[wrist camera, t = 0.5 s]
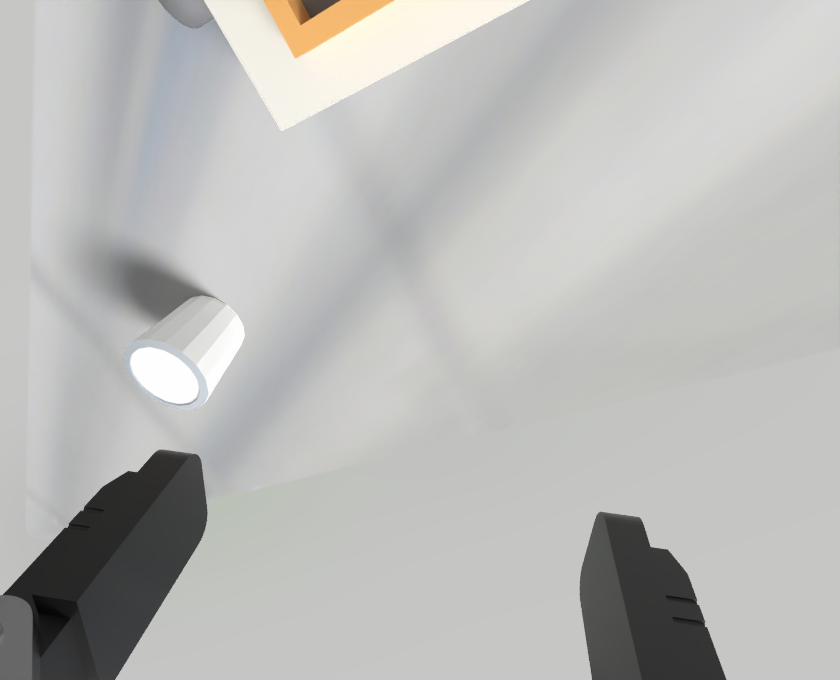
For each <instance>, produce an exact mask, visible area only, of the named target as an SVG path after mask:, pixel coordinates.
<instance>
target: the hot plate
mask: <svg viewBox="0 0 840 680" xmlns="http://www.w3.org/2000/svg"><path fill="white" fill-rule="evenodd" d="M527 1H529V0H159V2H160V3H161V4H162V6H163V7H164V8H165V9H166V10H167V11H168V12H169V14H170V15H172V16H173V17H174V18H175V19H176V20H177V21H179V22H180V23H182V24H183V25H185V26H187V27H190V28H199V27H201V26H203V25H204V24H205V23H207V22H208V21H210V20H211V19H213V18H215V20H216V22H217V23H218V25H219V27H220V28H221V30H222V32H223V34H224V35H225V37H226V39H227V40H228V42H229V44H230V45H231V47H232V49H233V50H234V52H235V54H236V55H237V57H238V59H239V61H240V62H241V64H242V66H243V67H244V69H245V71H246V72H247V74H248V76H249V77H250V79H251V81H252V83H253V84H254V86H255V88H256V89H257V91H258V93H259V94H260V96H261V98H262V99H263V101H264V103H265V104H266V106H267V108H268V110H269V111H270V113H271V115H272V116H273V118H274V120H275V121H276V123H277V125H278V126H279V128H280V130H281V132H282V131H284V130H285V129H287V128H289V127H291V126H293V125H295V124H297V123H299V122H301V121H302V120H304V119H306V118H308V117H310V116H312V115H314V114H316V113H318V112H319V111H321V110H323V109H325V108H327V107H329V106H331V105H333V104H335V103H336V102H338V101H340V100H342V99H344V98H346V97H348V96H350V95H352V94H353V93H355V92H357V91H359V90H361V89H363V88H365V87H367V86H369V85H370V84H372V83H374V82H376V81H378V80H380V79H382V78H384V77H386V76H387V75H389V74H391V73H393V72H395V71H397V70H399V69H401V68H402V67H404V66H406V65H408V64H410V63H412V62H414V61H416V60H418V59H419V58H421V57H423V56H425V55H427V54H429V53H431V52H433V51H435V50H436V49H438V48H440V47H442V46H444V45H446V44H448V43H450V42H452V41H453V40H455V39H457V38H459V37H461V36H463V35H465V34H467V33H469V32H470V31H472V30H474V29H476V28H478V27H480V26H482V25H484V24H486V23H487V22H489V21H491V20H493V19H495V18H497V17H499V16H501V15H503V14H504V13H506V12H508V11H510V10H512V9H514V8H516V7H518V6H520V5H521V4H523V3H525V2H527Z"/></svg>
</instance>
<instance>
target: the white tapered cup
mask: <svg viewBox="0 0 840 680" xmlns="http://www.w3.org/2000/svg"><path fill="white" fill-rule="evenodd" d="M244 337H245V334H244V327H243V324H242V322H241V321H240V319H239V317H238V315H237V314H236V313H235V312H234V311H233V310H232V309H231V308H230V307H229V306H228V305H227V304H225V303H223V302H221V301H219V300H217V299H216V298H213V297H208V296H203V295H201V296H195V297H191V298H190V299H188V300H187V301H186V302H184V303H183V304H182V305H180V306H179V307H178V308H177V309H175V310H174V311H173V312H171V313H170V314H169V315H167V316H166V317H165V318H163V319H162V320H161V321H159V322H158V323H157V324H155V325H154V326H153V327H151V328H150V329H149V330H148V331H146V332H145V333H144V334H142V335H141V336H140V337H138V338H137V339H136V340H134V341H133V342H132V343H131V344H130V345H128V346H127V347H126V348H125V351H124V356H123V362H124V366H125V369H126V372H127V374H128V375H129V377H130V378H131V380H132V381H133V382H134V384H135V385H136V386H137V387H138V388H139V389H140V390H141V391H142V392H144V393H145V394H146V395H147V396H148V397H149V398H151V399H153V400H154V401H156V402H158V403H160V404H162V405H164V406H166V407H169V408H174V409H178V410H182V411H183V410H195V409H197V408H199V407H200V406H202V405H203V404H205V402H206V401H207V399H208V398H209V396H210V394H211V393H212V391H213V390H214V388H215V386H216V385H217V383H218V381H219V380H220V378H221V377H222V375H223V373H224V372H225V370H226V369H227V367H228V365H229V364H230V362H231V361H232V359H233V357H234V356H235V354H236V353H237V351H238V349H239V348H240V346H241V344H242V342H243V339H244Z"/></svg>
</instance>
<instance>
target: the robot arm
mask: <svg viewBox="0 0 840 680" xmlns="http://www.w3.org/2000/svg"><path fill="white" fill-rule="evenodd" d="M206 522H207V504H206V496H205V488H204V480H203V472H202V464H201V460H200V457H199V456H198V455H196V454H190V453H183V452H176V451H169V450H158V451H157V452H155V453H154V454H153V455H152V456H151V457H150V459H149V460H148V461H147V462H146V463H145V464H144V466H143V467H142V468H141V469H140V470H139V471H138V472H130V471H128V472H126V473H124V474H123V475H121V476H120V477H118V478H116V479H115V480H113V481H111V482H110V483H108V484H107V485H105V486H103V487H102V488H101V489H100V490H99V491H98V492H97V494H96V495H95V496H94V497H93V498H92V499H91V500H90V501H89V502H88V503H87V504H86V505H85V507H84V510H83V511H80V512H79V513H78V514H77V515H76V516H75V517H74V518H73V520H72V521H71V522H70V523H69V526H68V528H64V529H63V530H62V532H61V533H60V534H59V535H58V536H57V537H56V538H55V539H54V540H53V542H51V544H50V545H49V546H48V547H47V548H46V549H45V550H44V551H43V552H42V553H41V554H40V556H39V557H38V558H37V559H36V560H35V561H34V562H33V563H32V564H31V565H30V566H29V567H28V568H27V570H26V571H25V572H24V573H23V574H22V575H21V576H20V577H19V578H18V579H17V580H16V581H15V583H14V584H13V585H12V586H11V587H10V588H9V589H8V590H7V591H6V592H5V593H4V594H3V595H1V596H0V680H115V679H116V677H117V676H118V674H119V672H120V671H121V669H122V667H123V666H124V664H125V663H126V661H127V659H128V658H129V656H130V654H131V653H132V651H133V650H134V648H135V646H136V645H137V643H138V642H139V640H140V638H141V637H142V635H143V633H144V632H145V630H146V629H147V627H148V625H149V624H150V622H151V620H152V619H153V617H154V615H155V614H156V612H157V611H158V609H159V607H160V606H161V604H162V602H163V601H164V599H165V598H166V596H167V594H168V593H169V591H170V589H171V588H172V586H173V585H174V583H175V581H176V580H177V578H178V577H179V575H180V573H181V572H182V570H183V568H184V567H185V565H186V564H187V562H188V560H189V559H190V557H191V555H192V554H193V552H194V551H195V549H196V547H197V546H198V544H199V542H200V541H201V538H202V536H203V533H204V530H205V527H206ZM580 601H581V608H582V615H583V621H584V628H585V635H586V641H587V647H588V655H589V661H590V667H591V674H592V680H726V678H725V675H724V672H723V670H722V667H721V664H720V661H719V659H718V656H717V654H716V650H715V648H714V645H713V642H712V640H711V637H710V634H709V631H708V629H707V627H705V620H704V618H703V615H702V612H701V610H700V607H699V605H697V599H696V596H695V593H694V590H693V588H692V585H691V582H690V579H689V577H688V574H687V573H686V571H685V570H684V569H683V568H682V567H681V565H680V564H679V563H678V562H677V560H676V559H675V558H674V557H673V556H672V554H671V553H670V552H669V551H668V550H666V549H659V548H652V547H650V544H649V541H648V538H647V534H646V531H645V528H644V525H643V522H642V520H641V519H640V518H639V517H633V516H626V515H619V514H611V513H605V512H599V513H598V514H597V516H596V519H595V522H594V526H593V529H592V533H591V537H590V540H589V544H588V547H587V551H586V555H585V558H584V562H583V565H582V570H581V577H580Z"/></svg>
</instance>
